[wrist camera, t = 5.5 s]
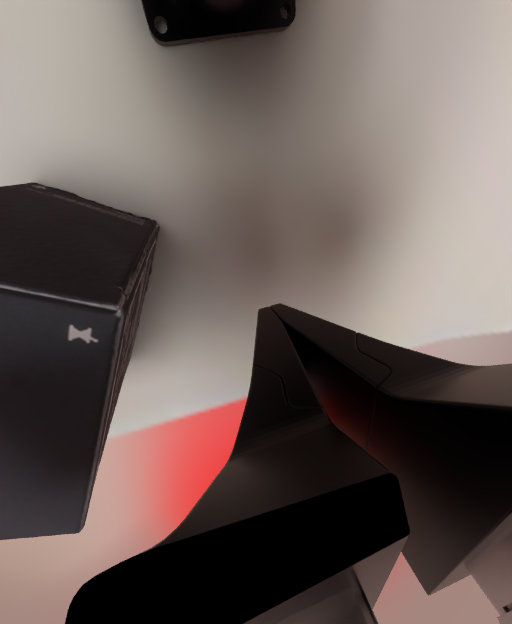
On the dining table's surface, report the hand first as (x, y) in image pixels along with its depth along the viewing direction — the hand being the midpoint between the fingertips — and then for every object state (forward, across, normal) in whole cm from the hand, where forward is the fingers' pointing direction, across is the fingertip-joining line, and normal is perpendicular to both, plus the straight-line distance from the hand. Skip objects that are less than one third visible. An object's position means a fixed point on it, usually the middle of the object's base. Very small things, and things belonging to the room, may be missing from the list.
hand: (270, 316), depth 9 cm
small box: (+9, +9, 0) cm, 13 cm away
